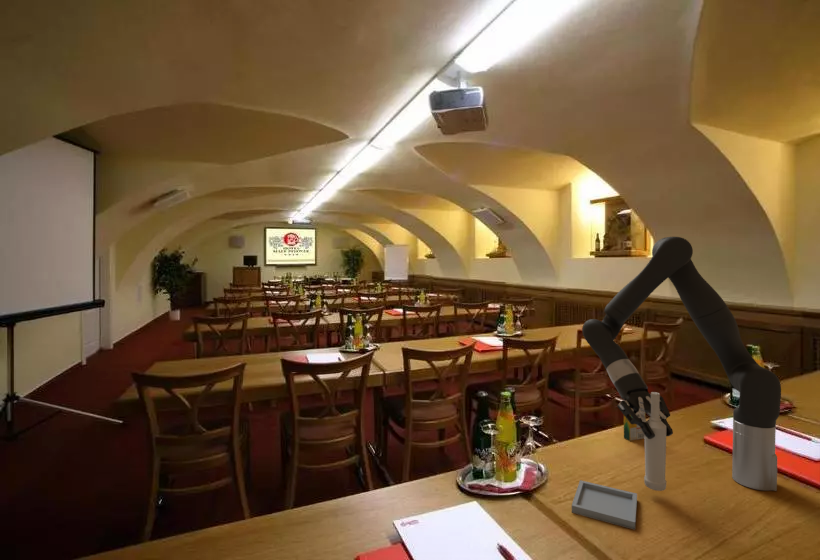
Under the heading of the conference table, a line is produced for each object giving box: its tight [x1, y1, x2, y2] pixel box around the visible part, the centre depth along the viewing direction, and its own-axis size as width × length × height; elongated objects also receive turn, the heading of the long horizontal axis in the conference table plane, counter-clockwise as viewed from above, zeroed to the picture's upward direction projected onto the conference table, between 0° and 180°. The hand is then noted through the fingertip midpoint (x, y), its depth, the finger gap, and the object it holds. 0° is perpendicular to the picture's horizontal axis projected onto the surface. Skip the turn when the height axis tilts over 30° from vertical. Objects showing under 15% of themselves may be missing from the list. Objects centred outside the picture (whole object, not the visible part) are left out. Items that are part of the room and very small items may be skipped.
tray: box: [571, 479, 638, 531], centre depth 106 cm, size 14×14×2 cm
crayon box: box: [623, 415, 647, 442], centre depth 148 cm, size 7×3×12 cm, turn 108°
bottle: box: [643, 391, 667, 492], centre depth 110 cm, size 5×5×25 cm
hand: (660, 436), depth 108 cm, fingers closed on bottle, 5 cm apart
